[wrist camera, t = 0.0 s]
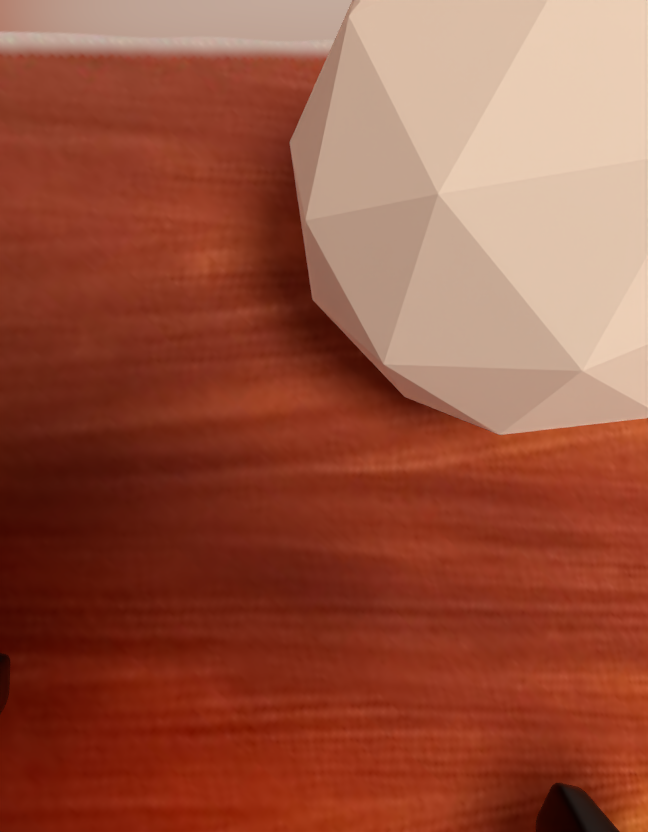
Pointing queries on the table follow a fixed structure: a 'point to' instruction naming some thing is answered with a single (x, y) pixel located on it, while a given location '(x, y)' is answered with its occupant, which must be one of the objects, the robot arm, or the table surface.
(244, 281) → the table surface
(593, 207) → the ball
